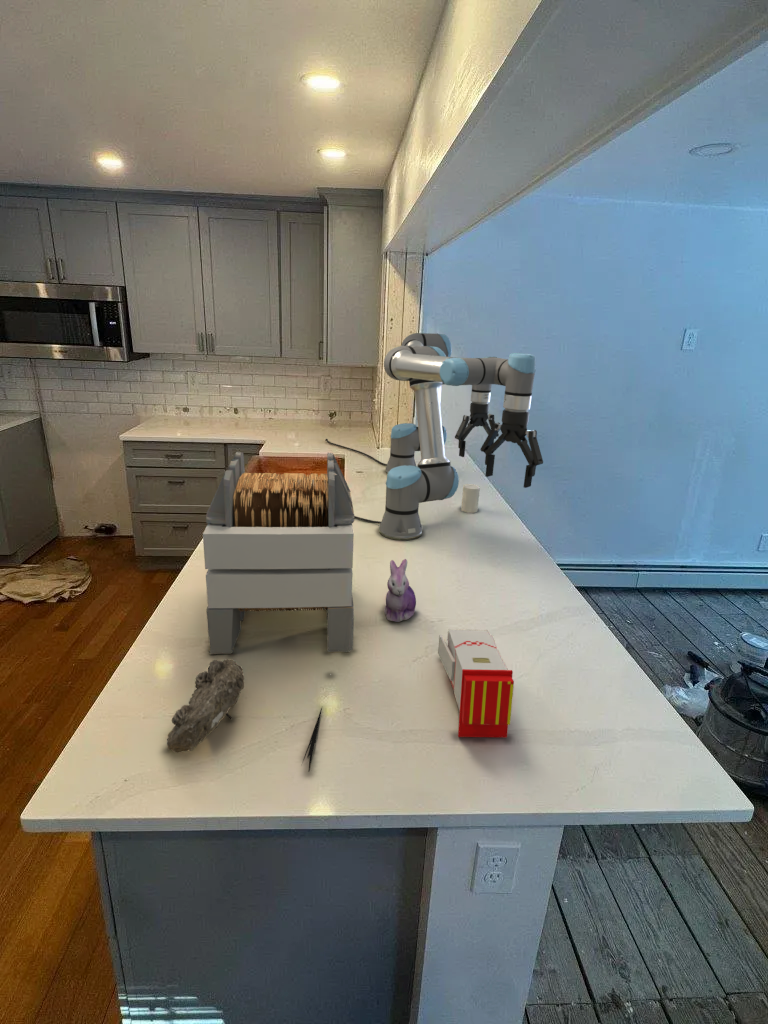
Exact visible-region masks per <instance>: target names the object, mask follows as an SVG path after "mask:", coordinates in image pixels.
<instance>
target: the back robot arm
mask: <svg viewBox="0 0 768 1024" xmlns="http://www.w3.org/2000/svg"><path fill="white" fill-rule="evenodd" d="M400 346H431V347H438V348H440V349H441V350H442V351H443V352H444V354H445V355H446V357H452V354H453V353H452V352H453V349H452V342H451V340H450V337H448V335H447V334H444V333H437V332H435V333H430V332H429V333H427V332H424V333H423V332H415V333H414V332H413V333H411V334H409V335H407V336H406V337H405V338H404V339H403V340H402V342H401V345H400ZM442 385H443V386H444V385H445V386H447V385H446V384H444V382H443V384H442ZM442 385H441V386H440V388H439V396H440V404H442V403H441V399H442ZM492 385H493V384H487V385H471V394H470V405H469V412H470V414H469V415H466V414H464V415H463V416H462V421H461V423H460V424H459V427H458V429H457V431H456V433H455V436H454V439H456V440H458V445H457V447H458V449H459V450H458V456H459V457H461V458H465V455H466V439H467V437H468V436H469V434H470V433H471V432H472V430H473V429H475V428H476V427H482V428H483V429H484V431H485V432H486V434H487V436H488V435H489V433H490V431H491V428H492V424H493V423H496V421H495V414H492V413H490V406H491V404H490V402H491V393H492ZM442 427H443V438H444V446H445V445H446V442H447V436H448V435H447V434H448V433H447V428H446V427H445V426H444V425H443V422H442ZM390 432H391V433H390V446H389V447H390V448H389V450H390V451H389V458H388V460H387V463H384V462H382V461H380V460H378V459H376V458H375V457H373V456H371V455H369V454H367V453H366V452H362V451H360V450H358V449H354V448H351V447H347V446H345V445H340V444H338V443H335V442H331V441H329V440H328V438H325V441H326V443H328V444H330V445H332V446H336V447H339V448H343V449H346V450H349V451H353V452H356V453H359V454H361V455H364V456H366V457H368V458H370V459H372V460H373V461H375V462H376V463H378V464H380V465H382V466H385V473H386V474H388V472H389V471H390V470H391V469H393V468H395V467H398V466H404V465H406V466H409V465H412V466H417V463H416V459H415V452H421V451H420V441H419V431H418V426H417V425H416V424H415V423H412V422H411V423H410V422H403V423H398V424H395V425H394V426H392V427H391V431H390ZM499 436H500V434H499V433H498V434H497V435H496V437H495V439H494V441H493V442H492V444H493V443H494V442H495V440H497V438H498V437H499ZM492 444H491V445H492Z"/></svg>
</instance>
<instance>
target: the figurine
mask: <svg viewBox="0 0 768 1024" xmlns="http://www.w3.org/2000/svg"><path fill="white" fill-rule="evenodd" d="M407 567H408V559H406V558H404V559H403V560H402V561H401V563H400V565H399V566H398V565H397V563H396V562H395V561H394V560H393V559H391V560H390V561H389V570H390V576H389V578H388V579H387V589H388V591H387V592H386V594H385V595H386V596H385V607H384V615H385V616H386V620H387V621H391V622H395V623H400V622H402V621H406V620H409V619H410V618H411V617H413V616H414V615H415V610H416V606H417V597H416V593H415V591H414V590H413V587H411V586H410V582H409V579H408V577H407V574H406V571H407Z"/></svg>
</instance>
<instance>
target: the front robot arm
mask: <svg viewBox="0 0 768 1024" xmlns="http://www.w3.org/2000/svg"><path fill="white" fill-rule="evenodd" d="M536 363H537V357H536V355H534V354H532V353H522V352H513V353H512V352H511V353H510V354H509V356H508V358H502V357H497V356H484V357H456V356H454V357H453V356H451V357H446V355H445V354H444V352H443V351H442V350H441V349H440V348H438V347H431V346H401V345H400V346H396V347H393V348H391V349H390V350H389V351H388V352H387V353H386V354H385V357H384V360H383V368H384V371H385V373H386V375H387V376H388V377H389V378H391V379H392V380H395V381H399V382H408V383H409V388H410V390H412V391H413V392H414V398H415V400H414V401H415V411H416V420H417V421H416V422H417V427H418V431H419V441H420V451H419V452H420V461H418V463H417V465H416V466H412V465H409V466H406V465H404V466H398V467H395V468H393V469H391V470H390V471H389V472H388V474H387V473H386V474H387V475H386V479H385V504H384V505H385V507H384V508H385V509H384V513H383V515H382V519H381V521H379V520H372V519H367V518H364V517H359V516H356V515H354V519H356V520H359V521H363V522H368V523H371V524H379V527H378V533H379V534H380V535H381V536H382V537H385V538H387V539H389V540H395V541H410V540H415V539H418V538H420V537H421V536H422V535H423V525H422V524H421V518H420V515H419V507H420V506H419V505H420V504H421V503H422V504H423V503H428V502H434V501H443V500H446V499H450V498H452V497H453V496H454V495H455V494H456V492H457V490H458V488H459V483H460V477H459V474H458V471H457V469H456V468H455V467H454V466H452V465H451V461H450V460H449V459H448V457H446V451H445V445H444V438H443V427H442V426H443V424H442V423H443V418H442V408H441V403H440V396H439V388H440V386H441V387H442V384H443V382H444V384H446V385H445V386H452V387H459V386H472V385H487V384H492V385H495V386H496V385H497V386H501V387H502V386H503V387H504V395H503V403H502V404H503V405H502V407H503V408H504V409H503V410H502V413H501V422H495V423H493V424H492V428H491V427H490V429H491V431H490V433H489V435H488V434H487V437H486V438H485V440H484V442H483V443H482V445H481V447H480V451H481V453H484V454H485V458H484V465H485V466H486V467H485V477H486V478H488V477H492V476H494V467H495V459H496V454H494V453H495V452H496V451H497V450H498V448H500V446H502V445H503V444H504V442H508V443H512V444H517V446H518V447H519V448H520V450H521V452H522V454H523V455H524V458H525V459H526V462H527V465H526V466H525V472H524V481H523V488H524V489H526V488H530V487H531V486H532V481H533V477H535V475H536V469H537V466H540V465H543V464H544V460H543V456H542V452H541V449H540V444H539V442H538V431H537V429H532V430H529V429H528V424H529V420H530V411H529V410H530V409H531V404H532V403H531V402H532V396H533V389H534V380H535V374H536V369H537V368H536V367H537V365H536ZM499 432H501V434H499ZM497 434H499V436H498V437H496V435H497ZM495 437H496V439H495ZM527 438H528V439H527ZM493 441H494V443H493V444H492V442H493ZM491 444H492V445H491Z"/></svg>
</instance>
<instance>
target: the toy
mask: <svg viewBox="0 0 768 1024" xmlns="http://www.w3.org/2000/svg"><path fill="white" fill-rule="evenodd" d="M446 640H447V643H446V641H445V639H444V636H443V635H442V634H439V637H438V646H437V656H438V657H439V659H440V661H441V663H442V666H443V668H444V670H445V672H446V674H447V677H448V679H449V681H450V684H451V687H452V690H453V693H454V697H455V701H456V705H457V708H458V711H459V714H458V715H459V716H458V730H457V731H458V732H457V737H458V738H508V731H509V726H510V725H511V717H512V707H513V697H514V696H513V695H514V684H515V680H514V679H513V673H514V671H513V670H512V669H508V667H507V665H506V662H505V661H504V659H503V658H502V655H501V653H500V651H499V649H498V647H497V643H496V639H495V637H494V635H493V634H491V632H490V631H489V629H467V628H466V629H465V628H463V629H461V628H460V629H459V628H448V630H447V639H446Z"/></svg>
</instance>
